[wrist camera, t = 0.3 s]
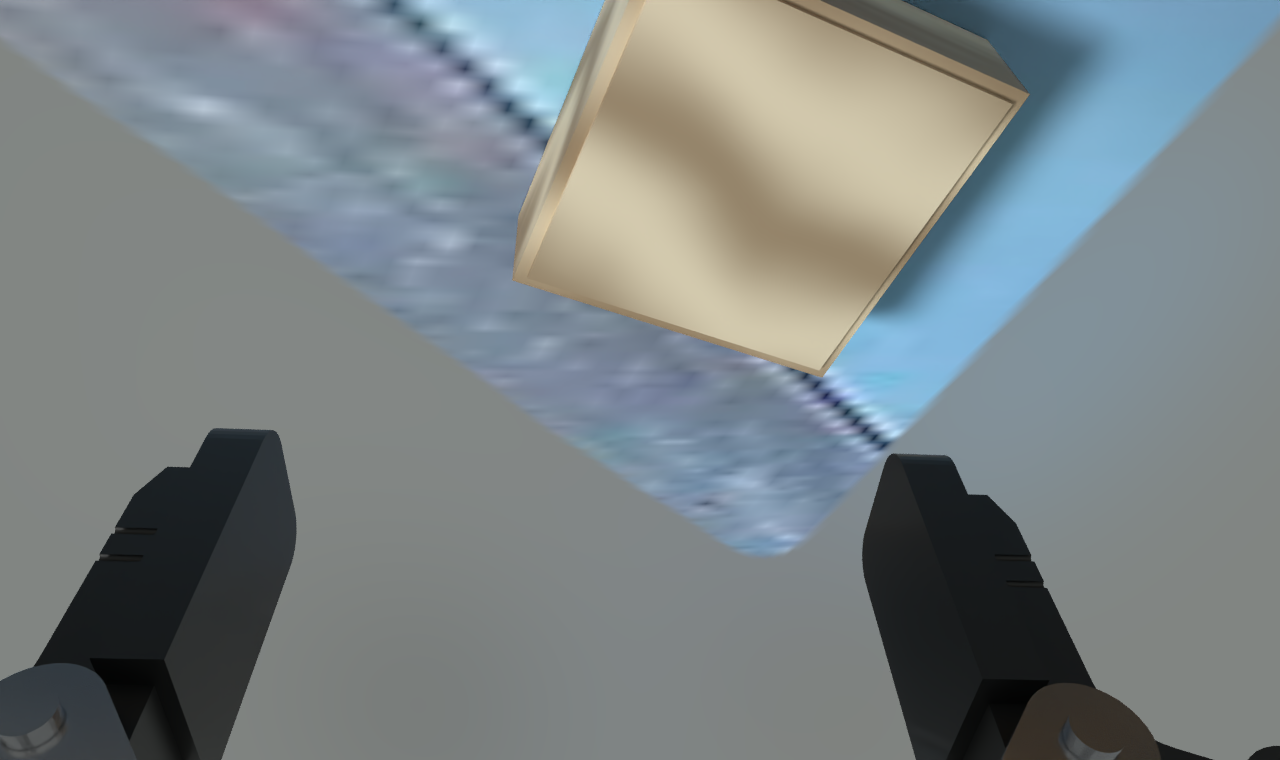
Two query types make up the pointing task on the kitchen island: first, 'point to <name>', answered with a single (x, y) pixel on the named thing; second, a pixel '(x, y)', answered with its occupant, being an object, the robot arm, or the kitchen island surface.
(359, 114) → the kitchen island surface
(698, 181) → the oak board
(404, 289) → the kitchen island surface
